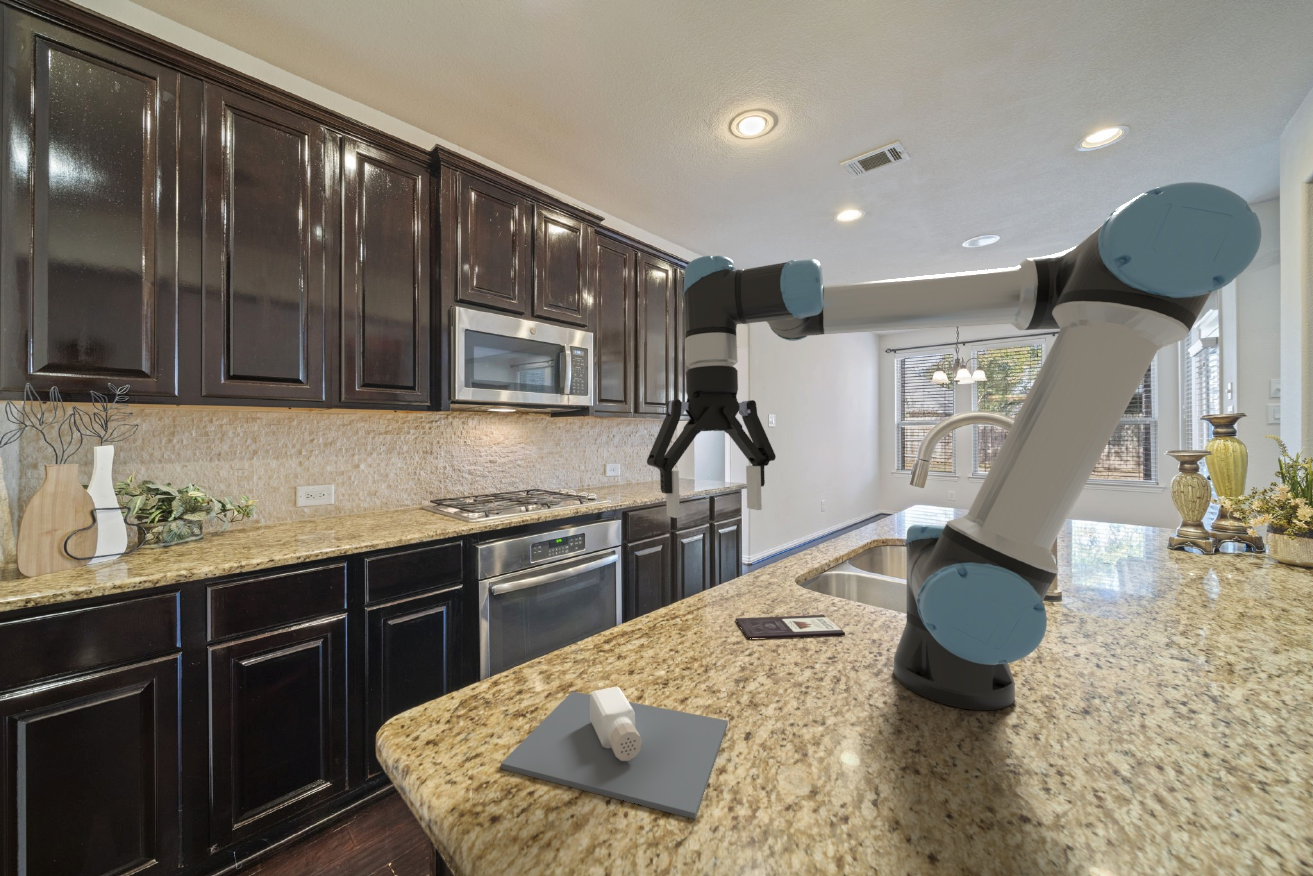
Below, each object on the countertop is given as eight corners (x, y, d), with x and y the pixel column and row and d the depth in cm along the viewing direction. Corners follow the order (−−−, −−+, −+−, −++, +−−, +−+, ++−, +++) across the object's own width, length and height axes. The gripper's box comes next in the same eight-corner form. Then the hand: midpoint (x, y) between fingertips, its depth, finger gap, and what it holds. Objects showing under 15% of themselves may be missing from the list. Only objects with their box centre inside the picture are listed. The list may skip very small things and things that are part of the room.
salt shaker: (588, 690, 61) (610, 732, 53) (619, 683, 63) (645, 724, 54) (589, 721, 61) (610, 769, 53) (619, 714, 63) (645, 760, 54)
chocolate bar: (735, 618, 96) (823, 614, 98) (735, 623, 96) (823, 619, 98) (748, 636, 87) (844, 632, 89) (748, 642, 87) (844, 637, 89)
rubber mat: (727, 725, 62) (727, 720, 62) (695, 819, 46) (695, 813, 46) (572, 695, 69) (572, 691, 69) (500, 768, 54) (500, 763, 54)
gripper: (766, 373, 80) (770, 503, 80) (622, 368, 70) (626, 516, 70) (796, 366, 73) (800, 508, 73) (641, 359, 63) (645, 524, 63)
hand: (715, 512), depth 72 cm, fingers open, 13 cm apart
